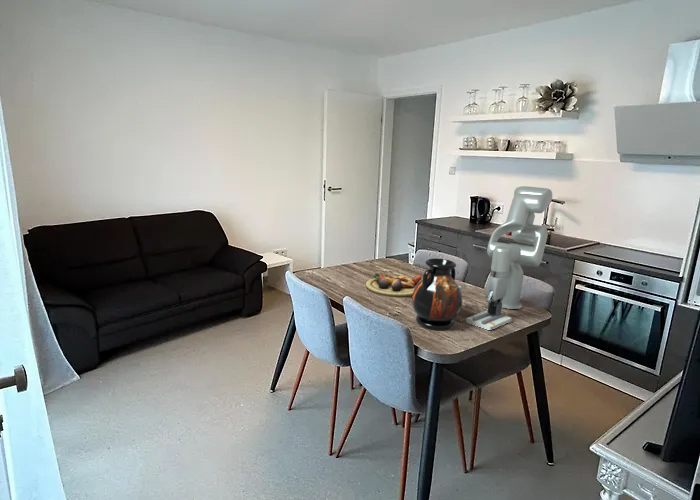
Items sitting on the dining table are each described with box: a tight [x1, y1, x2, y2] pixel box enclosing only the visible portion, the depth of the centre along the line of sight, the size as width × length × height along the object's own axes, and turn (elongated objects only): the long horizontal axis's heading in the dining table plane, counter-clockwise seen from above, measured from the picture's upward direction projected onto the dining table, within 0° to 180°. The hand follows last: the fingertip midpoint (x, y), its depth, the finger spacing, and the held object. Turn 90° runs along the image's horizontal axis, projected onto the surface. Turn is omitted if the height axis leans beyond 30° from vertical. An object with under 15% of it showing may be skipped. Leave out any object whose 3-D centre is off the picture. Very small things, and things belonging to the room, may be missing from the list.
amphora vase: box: [411, 258, 463, 331], centre depth 185 cm, size 22×22×28 cm
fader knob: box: [486, 301, 503, 317], centre depth 193 cm, size 3×5×7 cm, turn 41°
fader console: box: [465, 309, 513, 331], centre depth 192 cm, size 18×12×3 cm, turn 131°
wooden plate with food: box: [364, 271, 423, 298], centre depth 233 cm, size 32×32×8 cm
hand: (493, 312), depth 194 cm, fingers closed on fader knob, 3 cm apart
